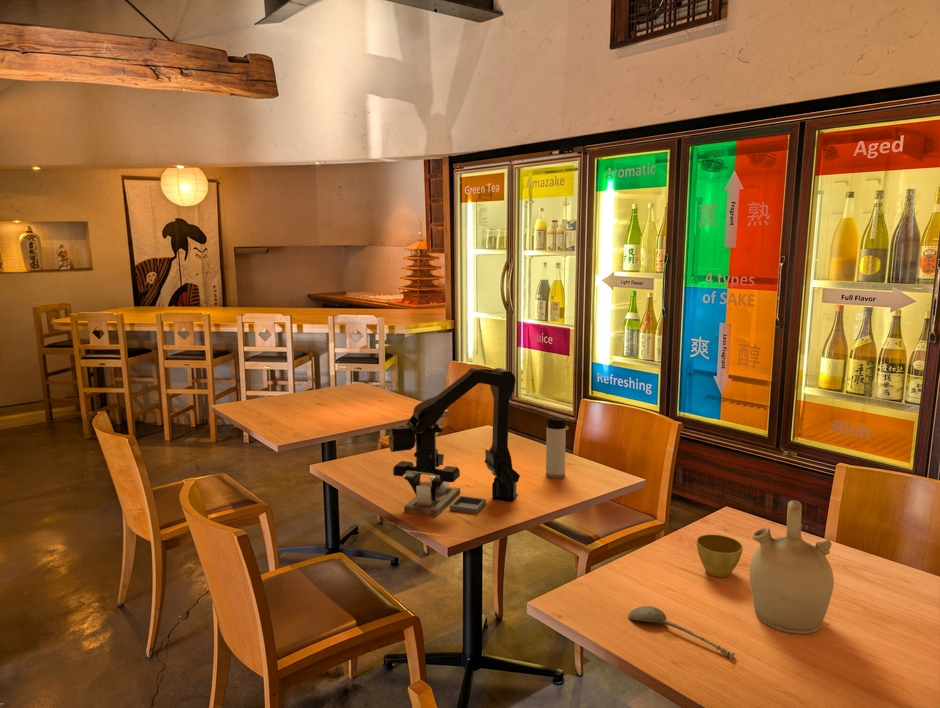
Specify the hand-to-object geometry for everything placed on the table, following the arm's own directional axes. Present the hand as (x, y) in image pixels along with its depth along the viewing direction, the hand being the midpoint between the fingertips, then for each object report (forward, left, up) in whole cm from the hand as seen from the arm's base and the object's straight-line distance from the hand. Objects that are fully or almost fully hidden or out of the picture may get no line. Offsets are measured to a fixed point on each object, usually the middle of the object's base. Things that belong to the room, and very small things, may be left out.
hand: (426, 499), depth 189 cm
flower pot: (-79, +12, -3) cm, 80 cm away
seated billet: (0, -10, -3) cm, 10 cm away
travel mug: (-29, -41, -3) cm, 50 cm away
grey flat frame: (0, -5, -3) cm, 6 cm away
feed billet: (0, 0, -2) cm, 2 cm away
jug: (-92, +28, -3) cm, 96 cm away
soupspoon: (-71, +41, -4) cm, 82 cm away
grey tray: (-11, -5, -3) cm, 12 cm away
